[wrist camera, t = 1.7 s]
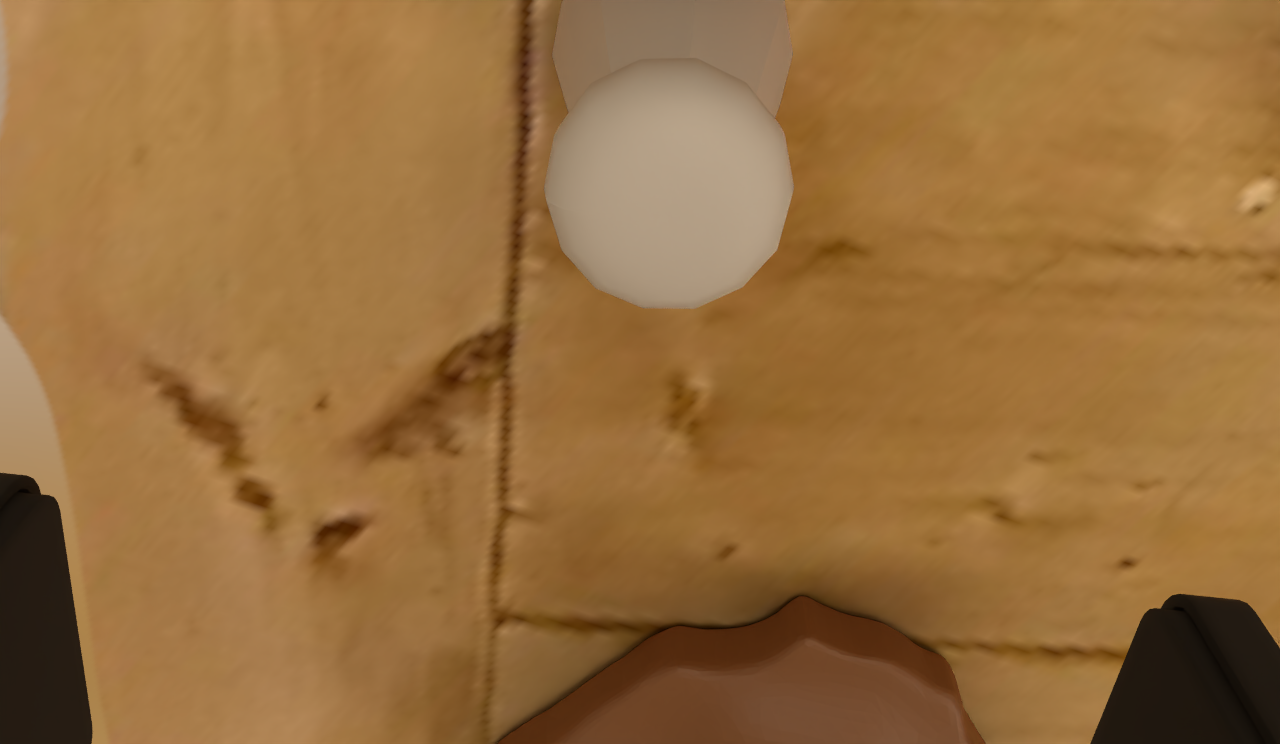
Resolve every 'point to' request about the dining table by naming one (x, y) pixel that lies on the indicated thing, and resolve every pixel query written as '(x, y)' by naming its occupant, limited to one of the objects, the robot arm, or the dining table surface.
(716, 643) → the plant
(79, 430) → the dining table surface
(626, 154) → the salt shaker
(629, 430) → the dining table surface
